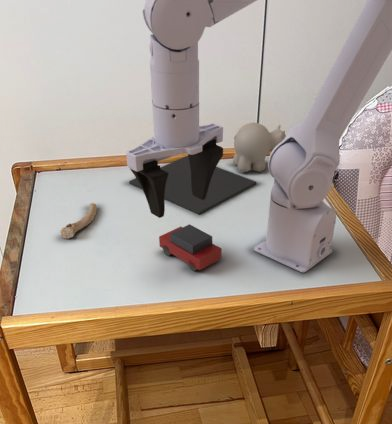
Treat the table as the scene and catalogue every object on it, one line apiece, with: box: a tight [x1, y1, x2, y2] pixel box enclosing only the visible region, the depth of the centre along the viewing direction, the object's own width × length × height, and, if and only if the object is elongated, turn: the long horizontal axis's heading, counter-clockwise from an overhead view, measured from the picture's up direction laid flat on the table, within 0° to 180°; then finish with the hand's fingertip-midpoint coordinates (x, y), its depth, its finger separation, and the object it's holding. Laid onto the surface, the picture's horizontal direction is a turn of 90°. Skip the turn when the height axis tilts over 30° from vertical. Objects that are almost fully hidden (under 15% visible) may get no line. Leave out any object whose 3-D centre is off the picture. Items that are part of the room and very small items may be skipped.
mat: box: [128, 155, 257, 215], centre depth 98 cm, size 18×16×1 cm
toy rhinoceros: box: [232, 122, 287, 173], centre depth 101 cm, size 7×12×8 cm, turn 99°
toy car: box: [158, 223, 222, 272], centre depth 79 cm, size 9×4×4 cm
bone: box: [59, 202, 98, 240], centre depth 87 cm, size 3×11×2 cm, turn 163°
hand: (178, 205), depth 72 cm, fingers open, 7 cm apart
